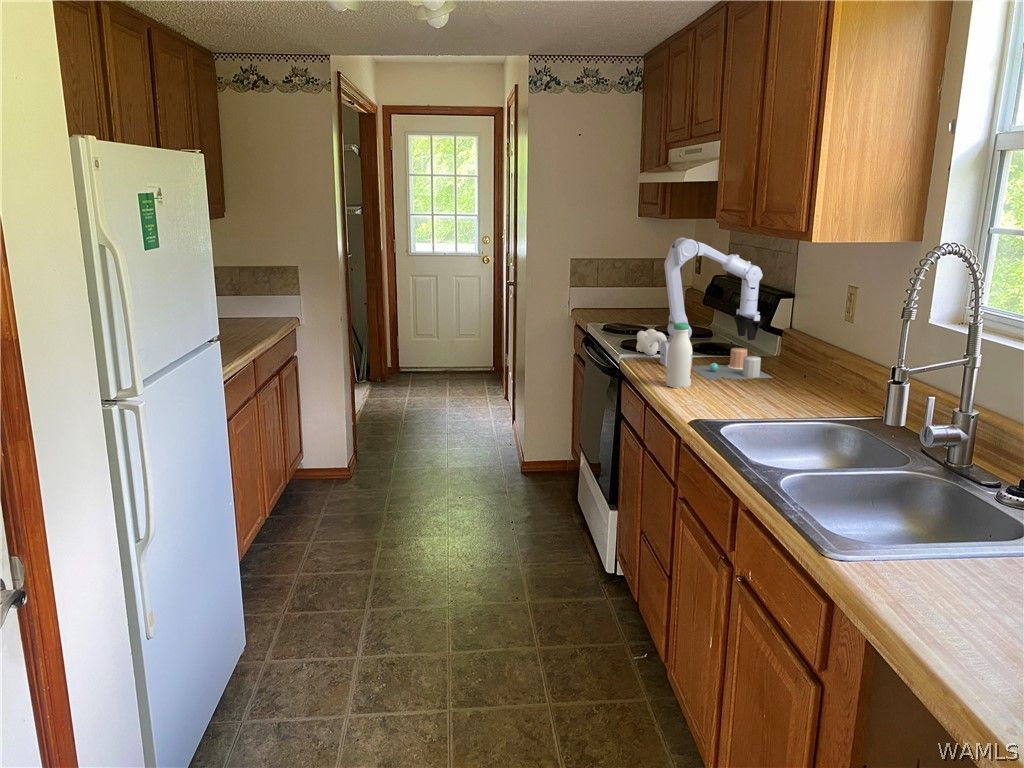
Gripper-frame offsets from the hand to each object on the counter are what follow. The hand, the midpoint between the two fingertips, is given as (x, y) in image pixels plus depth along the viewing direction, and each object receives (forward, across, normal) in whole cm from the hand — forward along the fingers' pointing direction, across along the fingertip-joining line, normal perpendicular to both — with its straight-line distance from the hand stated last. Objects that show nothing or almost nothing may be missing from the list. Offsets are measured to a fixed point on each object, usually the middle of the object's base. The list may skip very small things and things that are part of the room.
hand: (746, 338), depth 263 cm
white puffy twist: (+10, +22, +27) cm, 36 cm away
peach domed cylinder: (+9, -6, +5) cm, 12 cm away
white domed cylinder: (+9, -18, +6) cm, 21 cm away
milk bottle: (+10, -26, +34) cm, 44 cm away
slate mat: (+9, -12, +11) cm, 19 cm away
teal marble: (+8, -11, +16) cm, 21 cm away
